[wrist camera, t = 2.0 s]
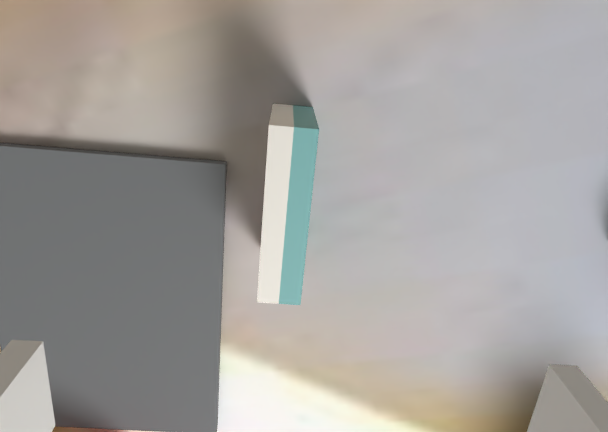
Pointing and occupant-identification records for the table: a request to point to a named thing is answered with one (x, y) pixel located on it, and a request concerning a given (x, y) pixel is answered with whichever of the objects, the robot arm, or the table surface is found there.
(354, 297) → the table surface
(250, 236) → the table surface
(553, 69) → the table surface
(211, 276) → the mat
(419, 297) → the table surface
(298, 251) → the tile
